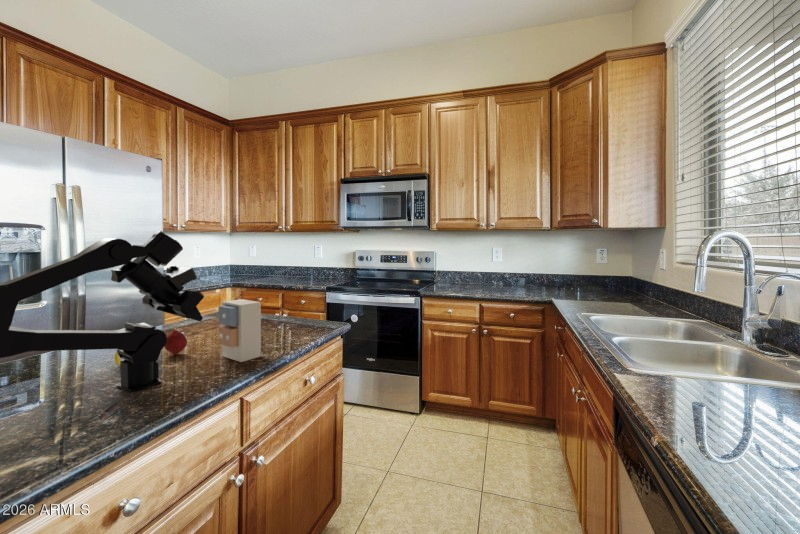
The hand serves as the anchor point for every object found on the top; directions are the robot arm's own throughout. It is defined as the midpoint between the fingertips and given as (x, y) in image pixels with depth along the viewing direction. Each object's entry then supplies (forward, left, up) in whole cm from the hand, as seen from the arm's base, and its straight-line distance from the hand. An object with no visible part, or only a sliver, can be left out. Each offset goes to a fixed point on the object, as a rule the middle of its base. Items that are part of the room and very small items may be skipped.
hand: (195, 318), depth 96 cm
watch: (-8, +17, -14) cm, 23 cm away
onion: (+4, +16, -14) cm, 22 cm away
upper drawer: (+9, -1, -3) cm, 10 cm away
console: (+14, -1, -14) cm, 20 cm away
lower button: (+9, -1, -9) cm, 13 cm away
